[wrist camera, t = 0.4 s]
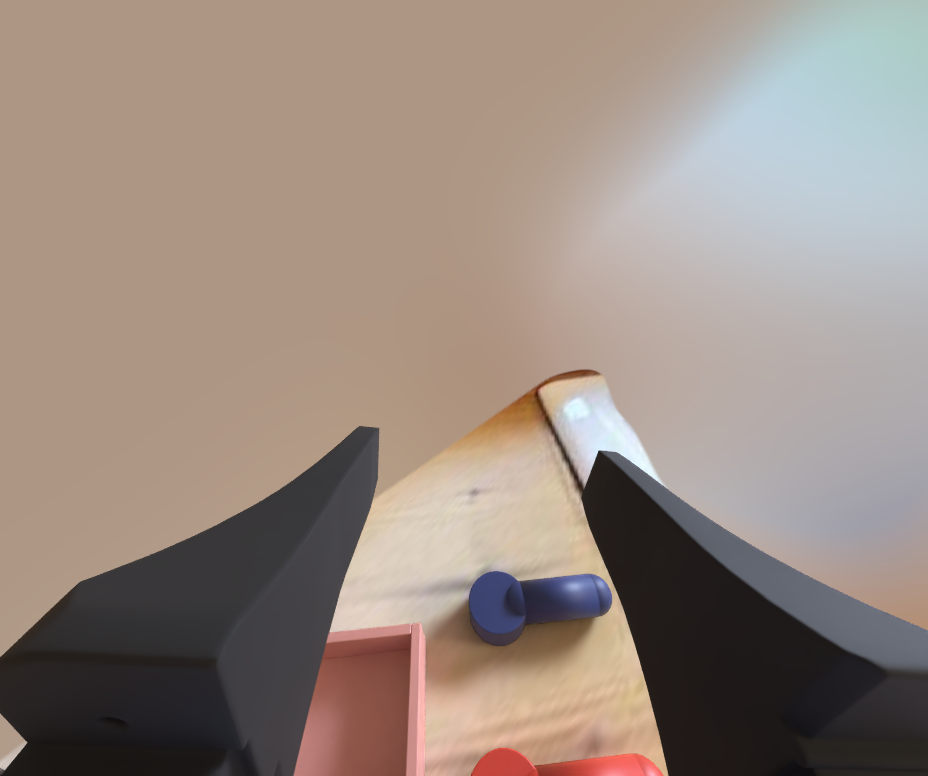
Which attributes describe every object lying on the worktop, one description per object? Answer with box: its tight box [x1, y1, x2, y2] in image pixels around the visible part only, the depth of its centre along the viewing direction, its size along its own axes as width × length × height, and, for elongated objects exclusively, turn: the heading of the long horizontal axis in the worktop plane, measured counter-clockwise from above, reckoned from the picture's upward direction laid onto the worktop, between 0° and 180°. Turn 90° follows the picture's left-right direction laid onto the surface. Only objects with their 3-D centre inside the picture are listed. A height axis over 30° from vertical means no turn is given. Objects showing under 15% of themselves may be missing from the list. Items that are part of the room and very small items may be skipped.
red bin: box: [294, 623, 426, 776], centre depth 19 cm, size 14×8×3 cm, turn 95°
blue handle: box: [469, 571, 612, 646], centre depth 24 cm, size 10×4×3 cm, turn 95°
